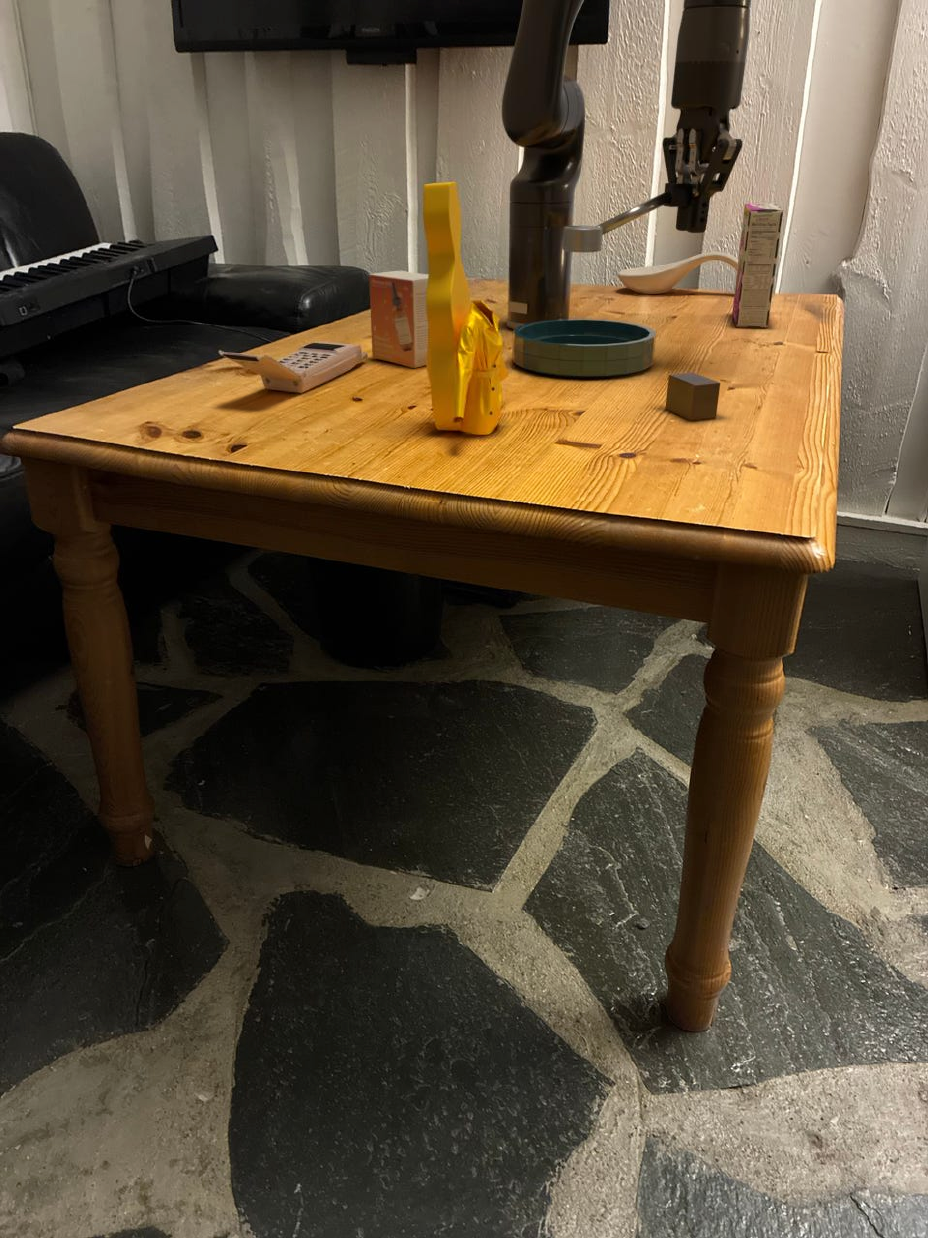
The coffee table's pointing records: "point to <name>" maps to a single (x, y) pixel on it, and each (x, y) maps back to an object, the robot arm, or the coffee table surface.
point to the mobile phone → (302, 365)
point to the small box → (399, 317)
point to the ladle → (623, 219)
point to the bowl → (583, 347)
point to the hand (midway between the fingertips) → (690, 230)
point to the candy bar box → (757, 264)
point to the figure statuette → (458, 326)
